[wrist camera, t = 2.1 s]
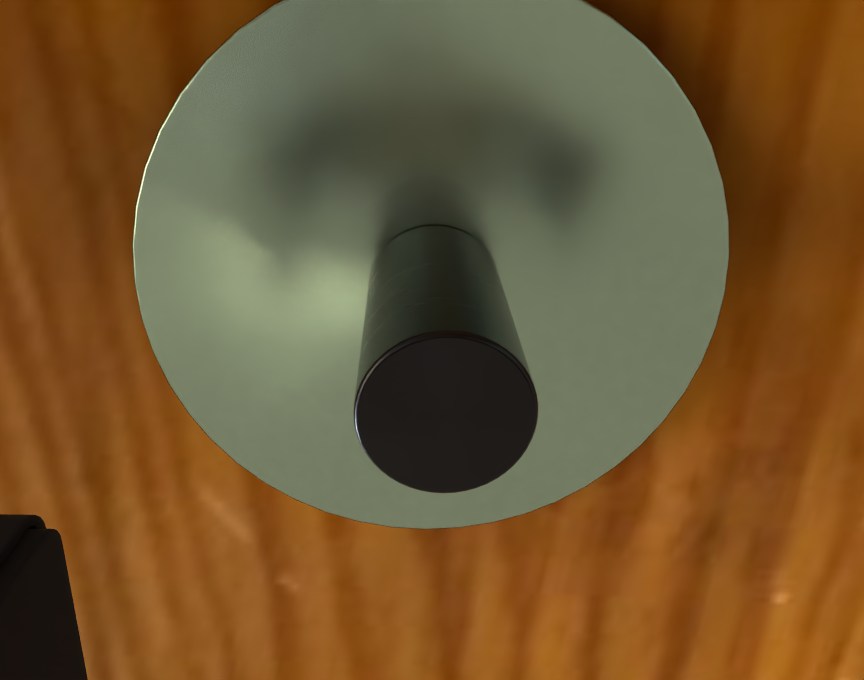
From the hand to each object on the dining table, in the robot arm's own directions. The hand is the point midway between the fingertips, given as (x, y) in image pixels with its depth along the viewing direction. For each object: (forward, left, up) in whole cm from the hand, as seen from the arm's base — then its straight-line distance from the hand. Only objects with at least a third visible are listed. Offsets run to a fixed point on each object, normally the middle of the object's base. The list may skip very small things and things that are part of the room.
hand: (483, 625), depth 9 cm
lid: (0, 0, -11) cm, 11 cm away
